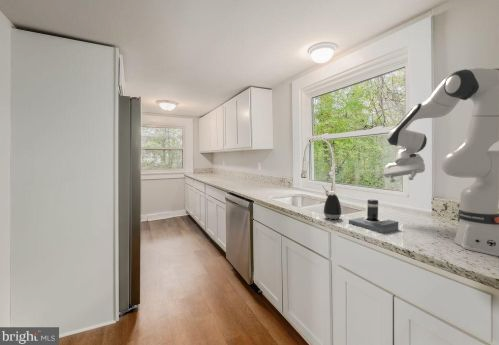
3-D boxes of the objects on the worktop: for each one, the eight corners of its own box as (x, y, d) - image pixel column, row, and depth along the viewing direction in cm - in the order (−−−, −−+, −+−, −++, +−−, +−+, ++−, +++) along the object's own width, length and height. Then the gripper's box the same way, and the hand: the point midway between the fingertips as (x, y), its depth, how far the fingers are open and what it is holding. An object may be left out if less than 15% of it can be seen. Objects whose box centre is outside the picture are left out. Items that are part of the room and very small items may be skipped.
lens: (380, 223, 123) (380, 200, 122) (373, 224, 121) (374, 201, 120) (371, 220, 128) (371, 199, 127) (364, 222, 125) (365, 199, 124)
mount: (398, 229, 118) (398, 221, 118) (383, 233, 113) (383, 225, 112) (363, 220, 136) (363, 213, 136) (348, 223, 130) (348, 216, 130)
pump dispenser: (333, 215, 148) (333, 192, 147) (345, 219, 138) (345, 194, 137) (319, 217, 144) (320, 193, 143) (331, 221, 134) (331, 195, 133)
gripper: (382, 161, 140) (379, 180, 134) (421, 153, 123) (419, 174, 117) (388, 167, 142) (385, 186, 136) (427, 160, 125) (425, 181, 119)
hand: (401, 180), depth 127 cm, fingers open, 8 cm apart
